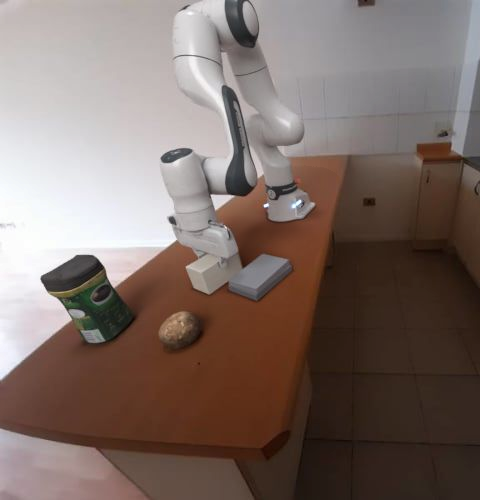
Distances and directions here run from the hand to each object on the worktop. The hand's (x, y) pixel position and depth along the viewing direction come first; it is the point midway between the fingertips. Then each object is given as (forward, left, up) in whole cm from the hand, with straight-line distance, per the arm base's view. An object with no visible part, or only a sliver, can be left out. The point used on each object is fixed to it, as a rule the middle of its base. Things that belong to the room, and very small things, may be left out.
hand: (213, 263), depth 77 cm
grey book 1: (-5, +12, -4) cm, 14 cm away
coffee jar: (+25, -8, -6) cm, 27 cm away
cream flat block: (0, 0, -1) cm, 1 cm away
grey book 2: (-5, +12, -5) cm, 14 cm away
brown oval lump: (+19, +11, -6) cm, 23 cm away
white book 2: (0, 0, -6) cm, 6 cm away
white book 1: (0, 0, -3) cm, 3 cm away
